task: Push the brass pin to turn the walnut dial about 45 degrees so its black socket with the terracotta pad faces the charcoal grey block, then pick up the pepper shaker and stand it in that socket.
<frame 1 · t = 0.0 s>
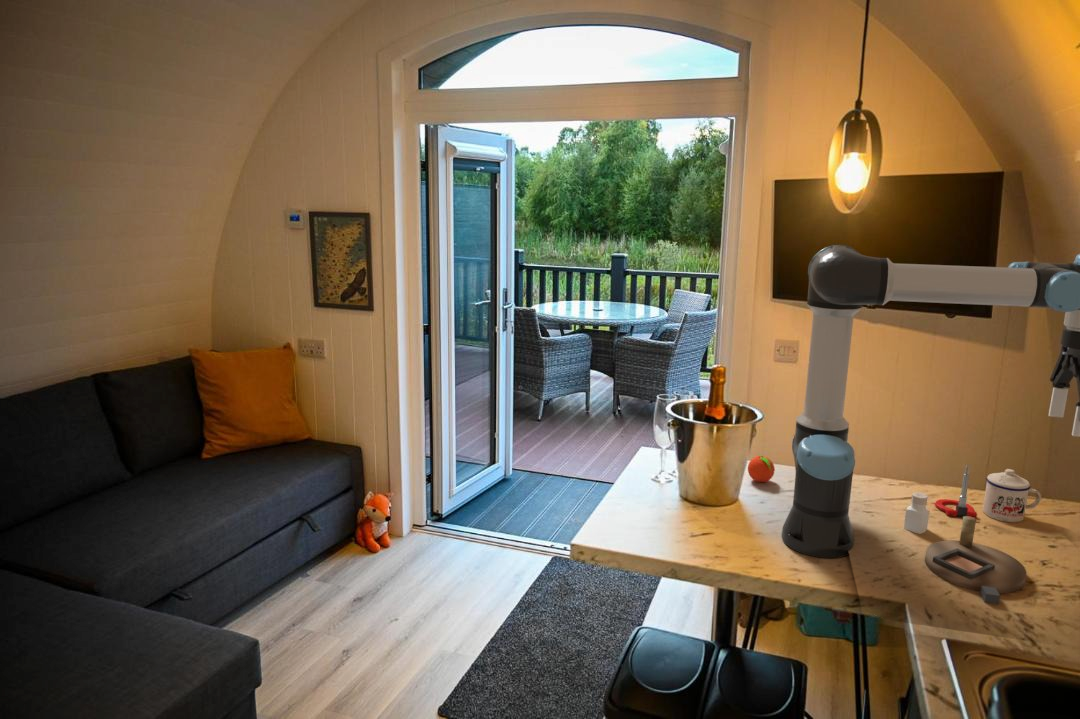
hand: (1067, 426, 162), 28 cm above the breakfast bar, tool pointing down, fingers open, 13 cm apart
teacup with lid: (1009, 516, 183), on the breakfast bar
pepper shaker: (914, 534, 174), on the breakfast bar
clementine: (761, 482, 202), on the breakfast bar
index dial: (976, 552, 155), point 5 cm above the breakfast bar, hinge at 0.0°
charcoal grey block: (988, 604, 145), on the breakfast bar
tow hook: (954, 510, 187), on the breakfast bar
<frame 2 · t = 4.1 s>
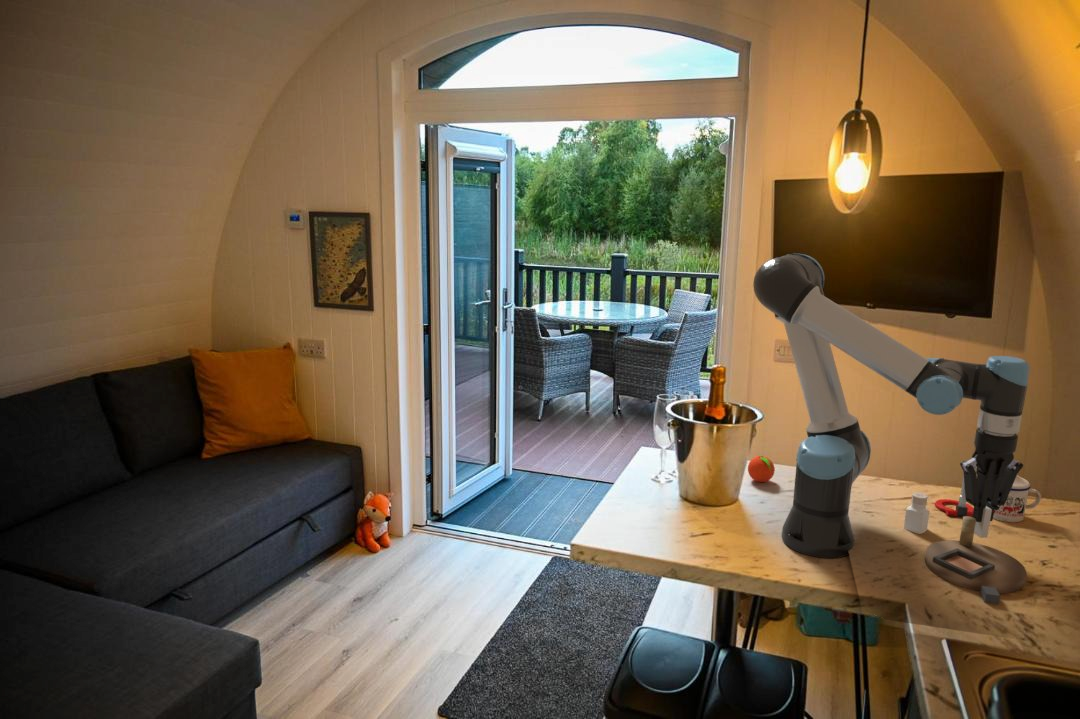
hand: (979, 534, 162), 5 cm above the breakfast bar, tool pointing down, fingers closed
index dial: (976, 552, 155), point 5 cm above the breakfast bar, hinge at 0.1°, touching gripper
everything else where it was.
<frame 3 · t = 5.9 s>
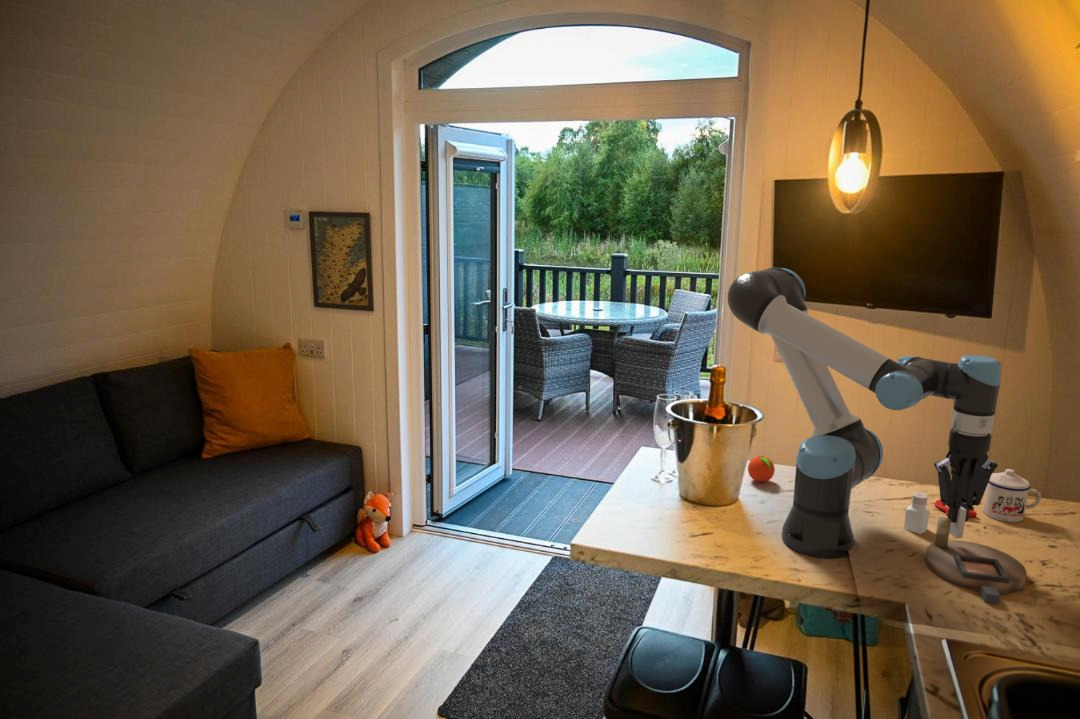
hand: (955, 535, 161), 5 cm above the breakfast bar, tool pointing down, fingers closed
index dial: (976, 552, 155), point 5 cm above the breakfast bar, hinge at 44.7°, touching gripper
everything else where it was.
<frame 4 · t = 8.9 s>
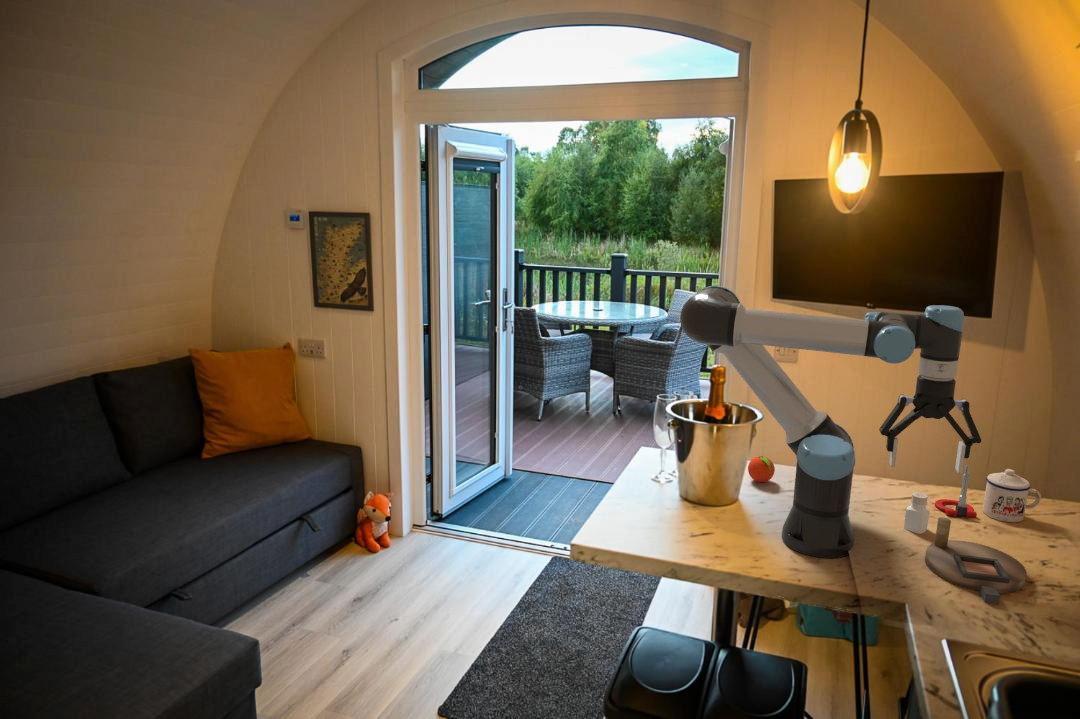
hand: (924, 468, 170), 16 cm above the breakfast bar, tool pointing down, fingers open, 13 cm apart
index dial: (976, 552, 155), point 5 cm above the breakfast bar, hinge at 45.0°
everything else where it was.
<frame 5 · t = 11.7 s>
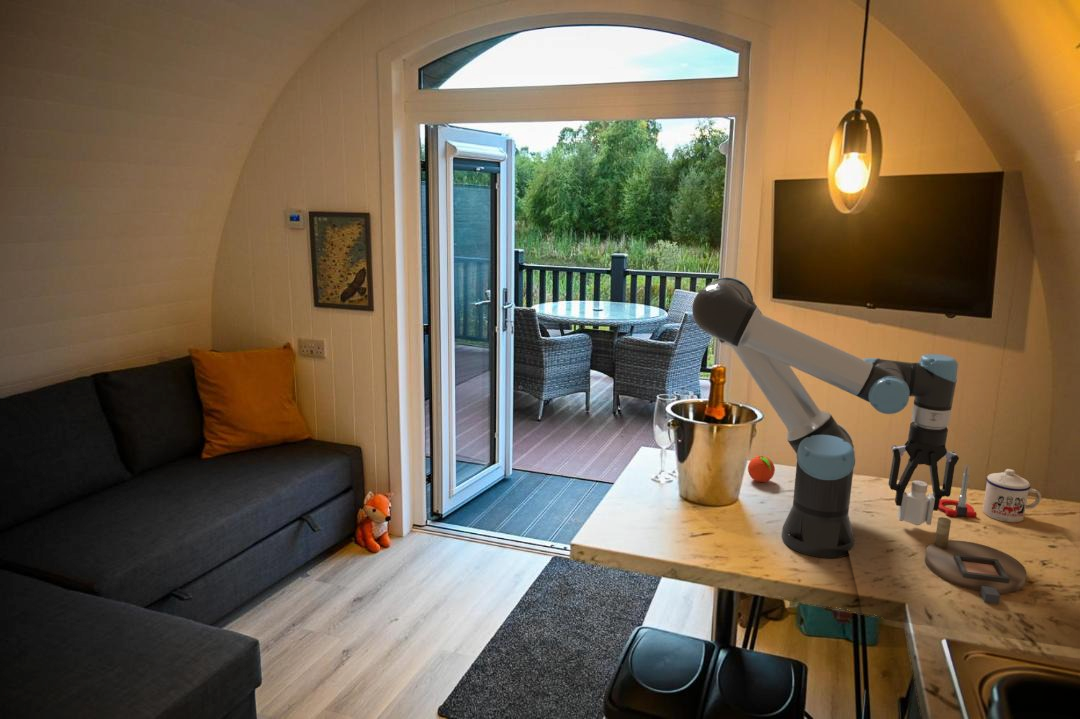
hand: (913, 520, 173), 3 cm above the breakfast bar, tool pointing down, fingers closed on pepper shaker, 5 cm apart
pepper shaker: (913, 522, 173), point 3 cm above the breakfast bar, touching gripper
everything else where it was.
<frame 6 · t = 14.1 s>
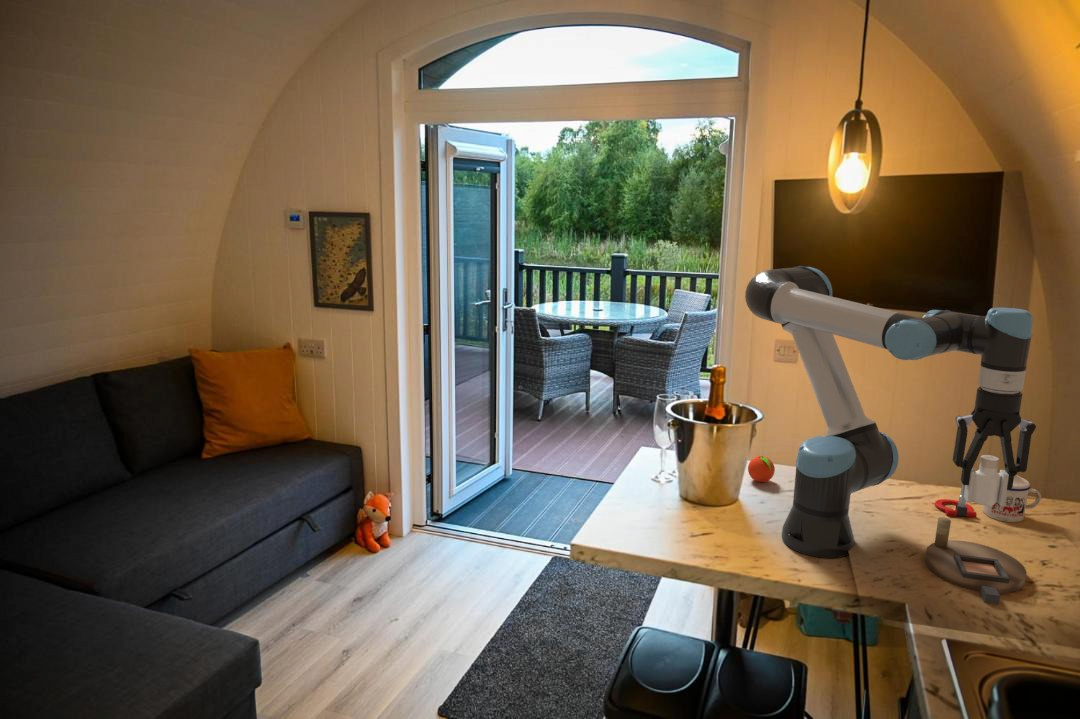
hand: (983, 501, 150), 17 cm above the breakfast bar, tool pointing down, fingers closed on pepper shaker, 5 cm apart
pepper shaker: (983, 503, 151), point 17 cm above the breakfast bar, touching gripper
everything else where it was.
when the fingers open (5 cm above the breakfast bar, at t = 16.8 s): pepper shaker drops 2 cm, resting on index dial.
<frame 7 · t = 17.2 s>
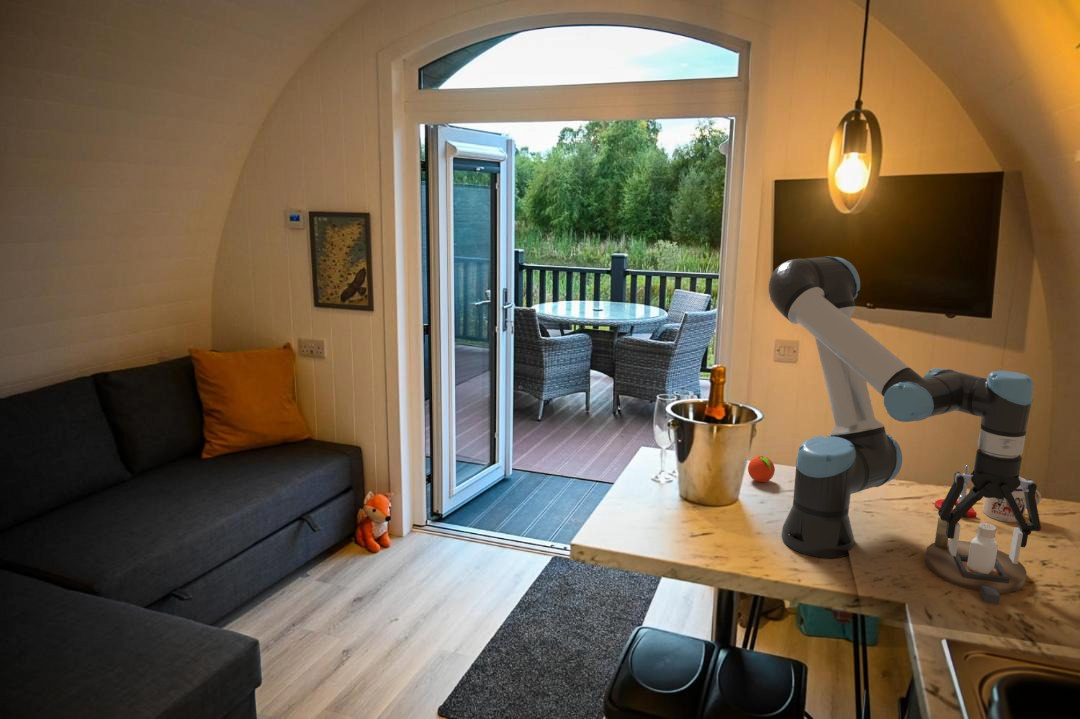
hand: (982, 556, 151), 6 cm above the breakfast bar, tool pointing down, fingers open, 10 cm apart
pepper shaker: (979, 570, 151), point 3 cm above the breakfast bar, touching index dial
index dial: (976, 552, 155), point 5 cm above the breakfast bar, hinge at 44.8°, touching pepper shaker
everything else where it was.
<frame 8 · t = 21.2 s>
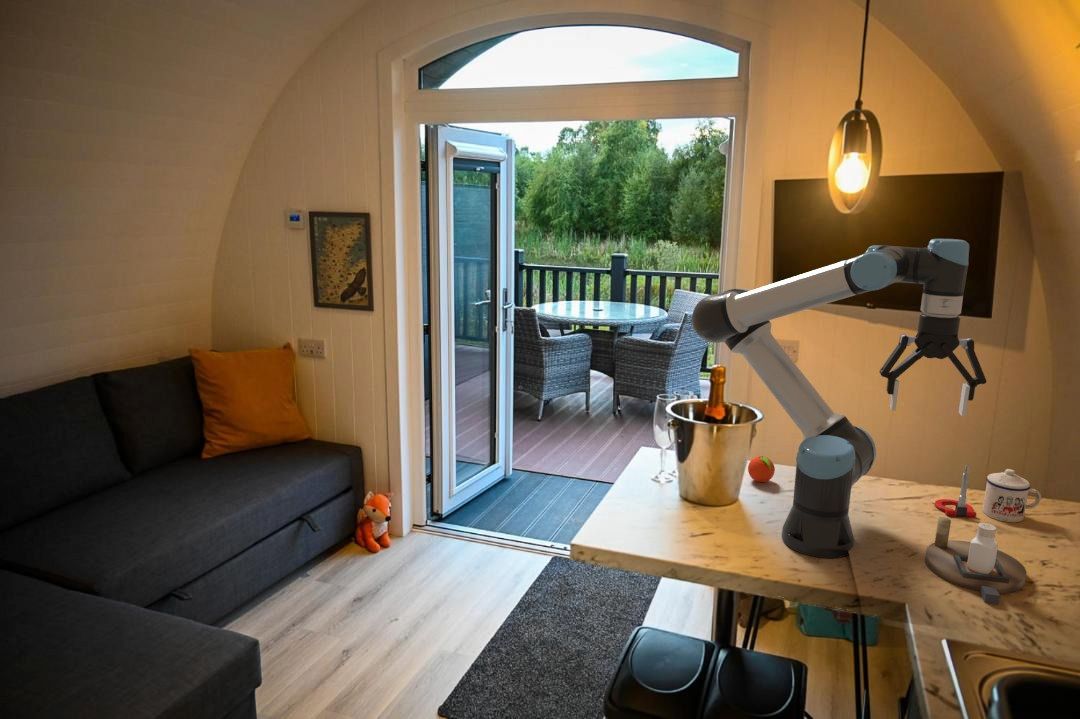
hand: (926, 411, 162), 31 cm above the breakfast bar, tool pointing down, fingers open, 13 cm apart
nothing on the breakfast bar moved.
at the end: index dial at +45° (first picture: +0°); pepper shaker 0.1 cm from the target spot, point 3.1 cm above the breakfast bar; pepper shaker tilted 0° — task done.
